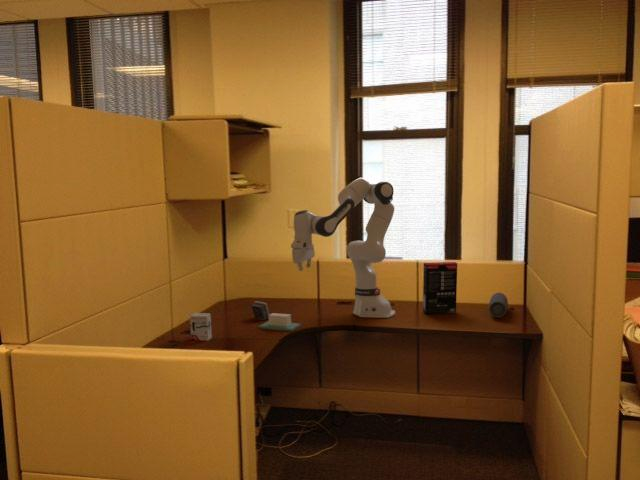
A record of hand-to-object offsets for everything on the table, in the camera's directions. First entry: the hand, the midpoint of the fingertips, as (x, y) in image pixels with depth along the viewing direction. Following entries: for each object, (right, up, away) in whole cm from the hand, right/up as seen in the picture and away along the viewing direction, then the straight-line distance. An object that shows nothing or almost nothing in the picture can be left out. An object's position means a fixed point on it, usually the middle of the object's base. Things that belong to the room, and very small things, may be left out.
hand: (304, 269), depth 294 cm
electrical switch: (-23, -27, +8) cm, 36 cm away
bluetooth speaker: (+101, -24, +6) cm, 104 cm away
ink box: (-48, -31, -27) cm, 63 cm away
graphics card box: (+72, -24, +13) cm, 77 cm away
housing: (-12, -27, -10) cm, 31 cm away
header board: (-12, -28, -10) cm, 32 cm away
